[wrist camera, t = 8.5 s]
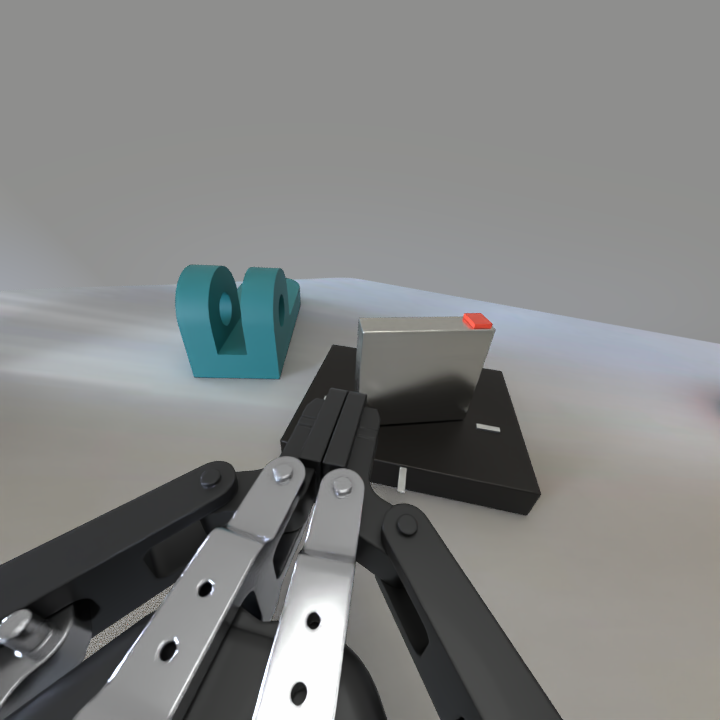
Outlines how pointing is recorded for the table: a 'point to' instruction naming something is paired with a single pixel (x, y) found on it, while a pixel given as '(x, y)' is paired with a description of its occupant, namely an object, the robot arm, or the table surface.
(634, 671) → the table surface
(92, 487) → the table surface
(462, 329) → the silver slab
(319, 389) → the panel
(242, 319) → the bracket
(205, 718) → the robot arm
